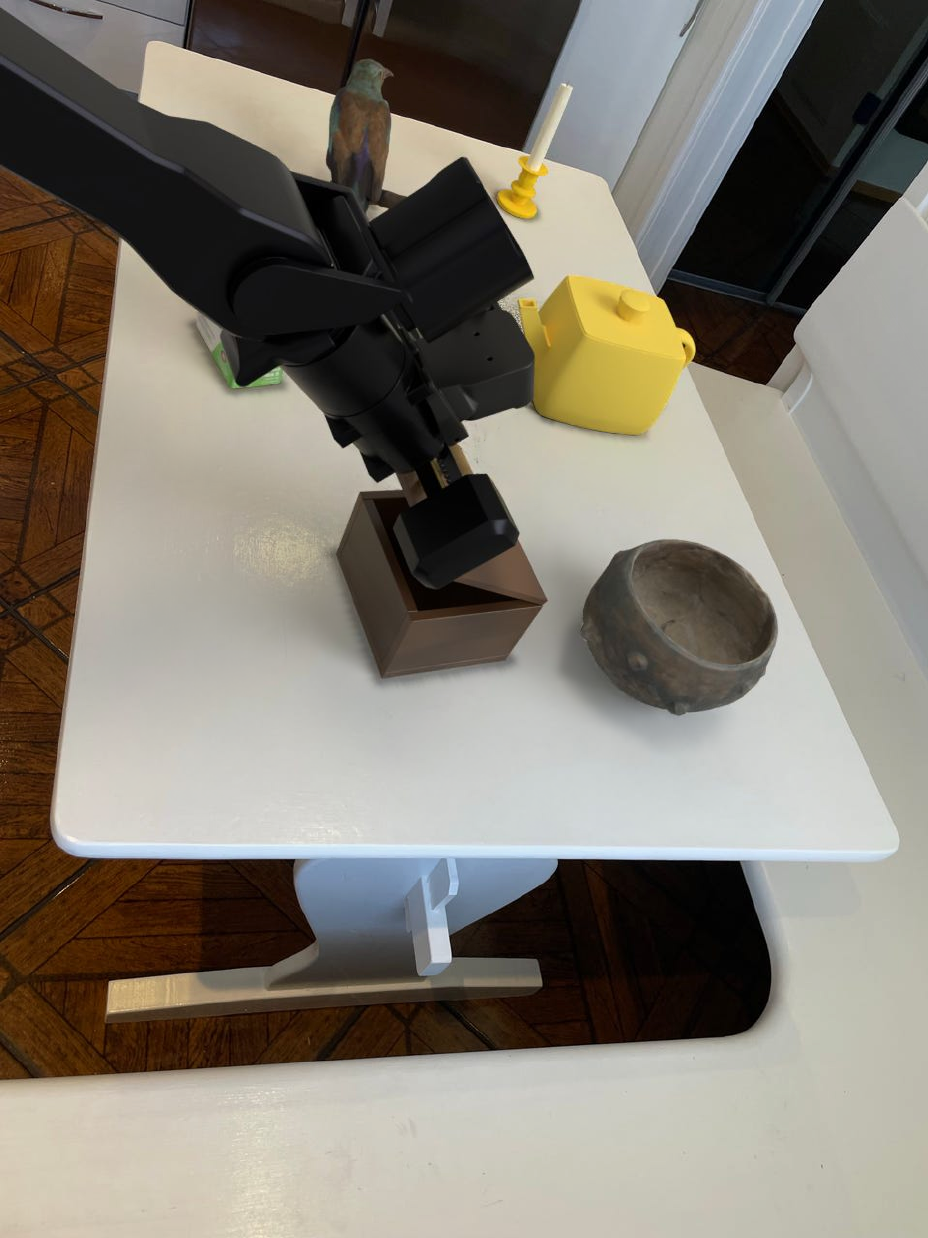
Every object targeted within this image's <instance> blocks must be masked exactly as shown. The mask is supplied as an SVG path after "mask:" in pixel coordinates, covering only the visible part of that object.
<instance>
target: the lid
mask: <svg viewBox="0 0 928 1238" xmlns="http://www.w3.org/2000/svg"><path fill="white" fill-rule="evenodd" d="M450 448H451V451H452V453H453V455H454V457H455V459H456V461H457V463H458V465H459V468H460V470H461V472H462V474H463V476H464V475H466V474H474V472H473V470H472V468H471V465H470V463H469V461H468V459H467V457H466V455H465V453H464V451H463V449H462V447H461V445H460V444H459V443H457V444H455V445H454V446H452V447H450ZM436 460H437V459H436V458H435V459H434V462H435V464H436V466H437V469H438V471H439V473H440V475H441V477H442V479H443V482H444V484H445V486H447V485H449V484H448V483H447V482H446V480H447V479H445V478H444V476H443V475H444V474H443V473H442V472H441V470H442V469H441V468H440V467H439V464H438V462H437V461H436ZM394 474H395V475H396V478H397V480H398V483H399V485H400V487H401V490H403V492H404V494H405V497H406V499H407V501H408V504H409V506H410V507H412V506H413V505H415V504H417V503H418V502H420V501H422V500H424V499H425V498H427V496H426V494H425V492H424V490H423V487H422V485H421V483H420V481H419V478H418V476H417V474H416V472H415V471H414V472H410V473H406V474H398V473H397V472H395V473H394ZM454 581H455V582H459V583H463V584H466V585H470V586H474V587H477V588H481V589H485V590H488V591H492V592H496V593H499V594H503V595H507V596H510V597H514V598H518V599H522V600H525V601H529V602H533V603H536V604H540V605H543V606H544V605H545V604H546V603H547V602H549V599H548V597H547V596H546V593H545V592H544V589H543V587H542V585H541V583H540V580H539V579H538V577H537V574H536V573H535V570H534V568H533V566H532V565H531V563H530V560H529V559H528V556H527V555H526V552H525V550H524V548H523V545H522V544H521V542H520V540H519V539H518V540H517V542H516V545H515V546H514V547H512V548H511V549H509V550H507V551H505V552H503V553H502V554H500V555H498V556H496V557H495V558H493V559H491V560H489V561H487V562H486V563H484V564H482V565H480V566H479V567H477V568H475V569H473V570H471V571H470V572H468V573H466V574H464V575H463V576H461V577H459V578H457V579H456V580H454Z"/></svg>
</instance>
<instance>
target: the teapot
mask: <svg viewBox="0 0 928 1238" xmlns="http://www.w3.org/2000/svg"><path fill="white" fill-rule="evenodd" d="M517 305H518V311H519V315H520V319H521V320H520V321H521V327H522V332H523V334H524V336H525V337H526V339H527V341H528V343H529V344H530V346H531V348H532V350H533V352H534V355H535V372H534V398H533V400H532V402H533V405H534V409H535V410H536V412H537V413H538V414H539V415H540V416H542V417H545V418H547V419H550V420H553V421H556V422H560V423H563V424H567V425H570V426H575V427H578V428H582V429H586V430H592V431H597V432H602V433H611V434H619V435H627V436H640V435H642V434H644V433H645V432H647V431H648V430H649V429H650V428H651V427H652V426H654V425H655V423H656V422H657V421H658V419H659V418H660V416H661V415H662V413H663V411H664V409H665V408H666V407H667V404H668V403H669V400H670V399H671V396H672V394H673V392H674V391H675V388H676V386H677V383H678V381H679V378H680V376H681V373H682V371H683V370H684V369H686V368H687V366H688V365H690V363H691V362H692V361H693V360H694V357H695V355H696V344H695V341H694V338H693V337H692V335H691V334H690V333H689V332H688V331H686V330H685V329H683V328H680V327H677V326H676V323H675V322H674V319H673V317H672V314H671V312H670V310H669V308H668V306H667V304H666V302H665V300H664V299H662V298H661V297H658V296H656V295H654V294H651V293H648V292H645V291H642V290H639V289H637V288H632V287H630V286H625V285H623V284H619V283H615V282H611V281H607V280H603V279H598V278H594V277H588V276H582V275H577V274H569V275H566V276H565V277H564V278H563V279H562V281H560V282H559V284H558V285H557V286H556V287H555V289H553V291H552V292H551V294H550V295H549V296H548V298H547V299H546V300H545V301H544V303H543V304H542V306H541V307H540V308H539V306H538V303H537V300H536V298H520V297H519V298H517ZM684 345H685V346H684Z"/></svg>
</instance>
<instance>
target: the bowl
mask: <svg viewBox="0 0 928 1238" xmlns="http://www.w3.org/2000/svg"><path fill="white" fill-rule="evenodd" d="M777 617H778V616H777V614H776V610H775V606H774V604H773V603H772V600H771V598H770V596H769V594H768V593H767V592H766V591H764V590H763V588H762V587H761V586H760V584H759V583H758V581H757V580H756V578H755V577H754V576H753V574H752V573H751V572H749V571H748V570H747V569H746V568H745V567H743V565H741V564H740V563H738V562H737V561H735V560H734V559H732V558H731V557H730V556H728V555H725V554H724V553H722V552H721V551H719V550H717V549H714V548H712V547H710V546H707V545H705V544H702V543H699V542H695V541H691V540H684V539H676V538H675V539H674V538H672V539H671V538H670V539H668V538H662V539H655V540H651V541H648V542H644V543H642V544H639V545H637V546H635V547H633V548H629V549H625V550H624V549H623V550H619V551H617V552H615V553H614V554H613V556H612V558H611V559H610V562H609V564H607V566H606V567H605V569H604V570H603V572H602V573H601V575H599V577H598V578H597V580H596V581H595V583H594V584H593V586H592V587H591V588H590V590H589V593H588V594H587V596H586V598H585V601H584V604H583V607H582V615H581V618H582V619H581V620H582V624H581V626H580V628H579V636H580V637H581V638H582V639H583V640H584V641H585V643H586V645H587V648H588V650H589V652H590V654H591V656H592V657H593V659H594V661H595V663H596V664H597V666H598V667H599V668H600V670H601V671H602V672H603V674H604V675H605V676H606V678H607V679H608V680H609V682H610V683H612V685H613V686H614V687H615V688H616V689H617V690H619V691H620V692H622V693H624V694H625V695H627V696H628V697H630V698H631V699H632V698H633V699H634V700H636V701H637V702H639V703H642V704H643V705H645V706H649V707H652V708H656V709H660V710H666V711H667V712H669V713H670V714H671V715H675V716H677V717H680V716H683V715H686V714H687V713H699V712H706V711H711V710H714V709H716V708H717V709H718V708H721V707H725V706H728V705H730V704H734V703H735V702H737V701H739V700H741V699H742V698H744V697H745V696H746V695H747V694H748V693H750V691H752V689H754V687H756V685H757V684H758V683H759V681H760V679H762V677H764V676H765V675H766V673H767V666H768V664H769V662H770V659H771V657H772V654H773V652H774V650H775V647H776V644H777V639H778V636H779V635H778V634H779V623H778V622H779V621H778V618H777Z"/></svg>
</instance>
